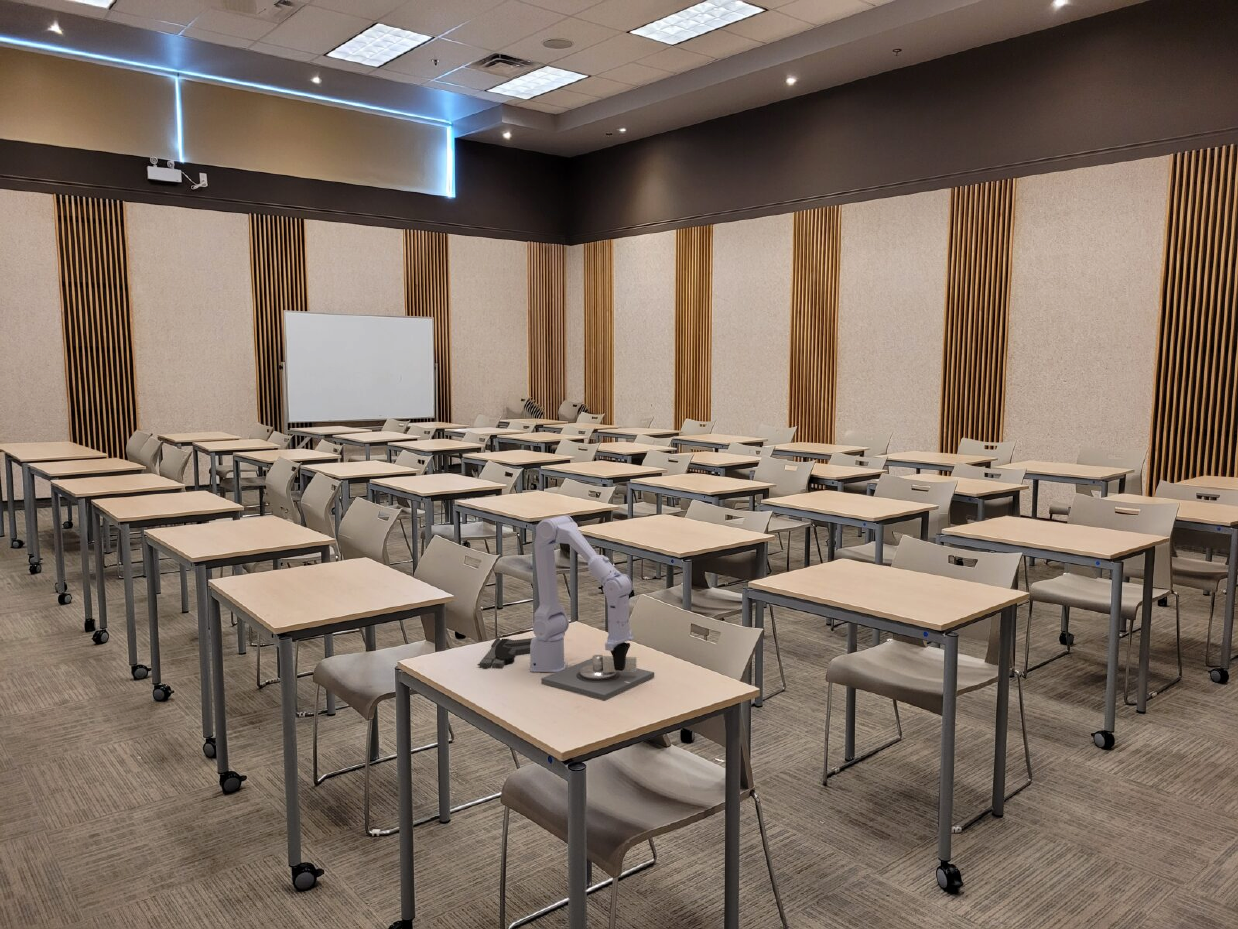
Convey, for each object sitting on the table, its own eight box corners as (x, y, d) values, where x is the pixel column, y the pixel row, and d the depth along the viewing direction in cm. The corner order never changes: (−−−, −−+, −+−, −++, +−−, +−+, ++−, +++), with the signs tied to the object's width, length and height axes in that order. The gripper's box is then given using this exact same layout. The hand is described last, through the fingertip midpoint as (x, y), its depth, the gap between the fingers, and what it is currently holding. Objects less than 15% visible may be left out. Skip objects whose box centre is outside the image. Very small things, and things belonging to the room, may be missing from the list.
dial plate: (541, 683, 239) (541, 677, 239) (592, 662, 256) (592, 657, 256) (604, 700, 226) (604, 694, 225) (654, 677, 243) (654, 672, 243)
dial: (576, 679, 237) (576, 661, 236) (584, 667, 247) (583, 650, 246) (633, 681, 234) (633, 663, 234) (638, 669, 244) (638, 652, 243)
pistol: (544, 638, 276) (497, 637, 278) (527, 663, 251) (476, 662, 252) (544, 645, 276) (497, 643, 278) (527, 671, 251) (476, 670, 252)
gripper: (622, 628, 229) (623, 679, 230) (642, 615, 242) (643, 663, 243) (597, 626, 232) (598, 676, 233) (618, 613, 245) (619, 661, 246)
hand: (619, 669), depth 238 cm, fingers closed, pressing on dial
